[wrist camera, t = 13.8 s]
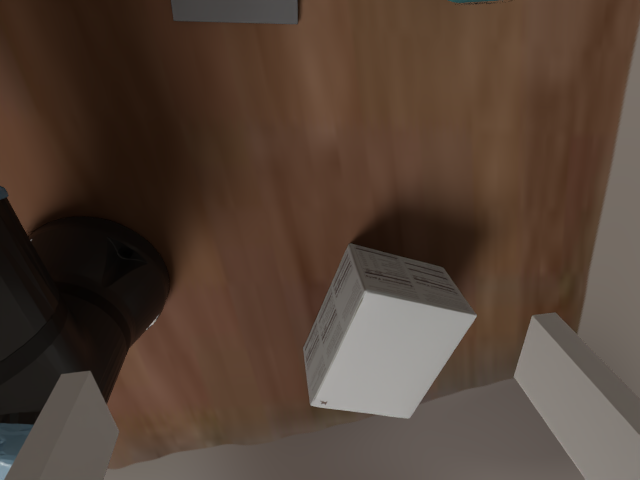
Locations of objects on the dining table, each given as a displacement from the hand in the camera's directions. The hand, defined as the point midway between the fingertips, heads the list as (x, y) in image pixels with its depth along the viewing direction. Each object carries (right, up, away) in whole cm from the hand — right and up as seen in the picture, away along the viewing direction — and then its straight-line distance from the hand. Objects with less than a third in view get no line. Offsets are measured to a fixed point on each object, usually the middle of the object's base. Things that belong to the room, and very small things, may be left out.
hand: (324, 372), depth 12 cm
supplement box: (+6, -5, +39) cm, 40 cm away
